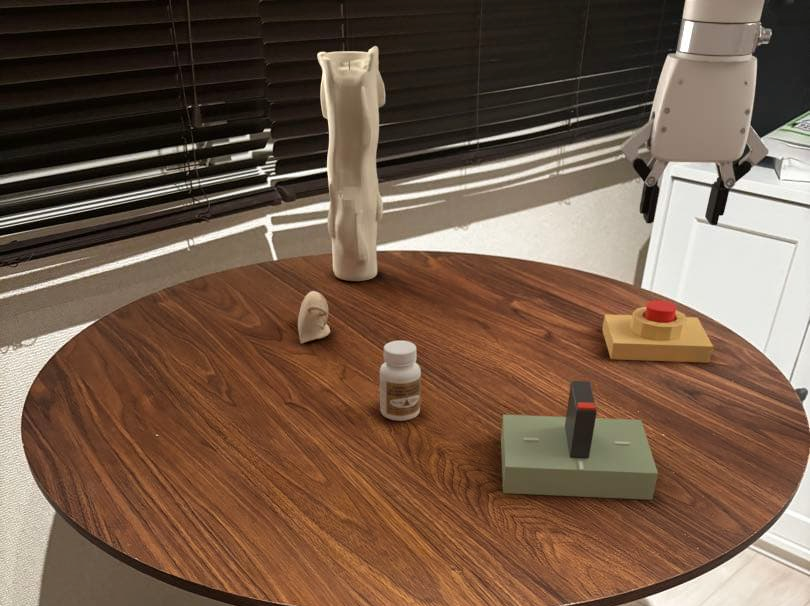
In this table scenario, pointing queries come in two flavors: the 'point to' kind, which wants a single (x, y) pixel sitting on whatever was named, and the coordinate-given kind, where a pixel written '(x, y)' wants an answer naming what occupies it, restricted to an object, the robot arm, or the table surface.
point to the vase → (353, 158)
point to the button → (660, 311)
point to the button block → (656, 338)
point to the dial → (580, 419)
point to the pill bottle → (400, 381)
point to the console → (576, 459)
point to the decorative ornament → (313, 317)
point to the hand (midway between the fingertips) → (679, 219)
